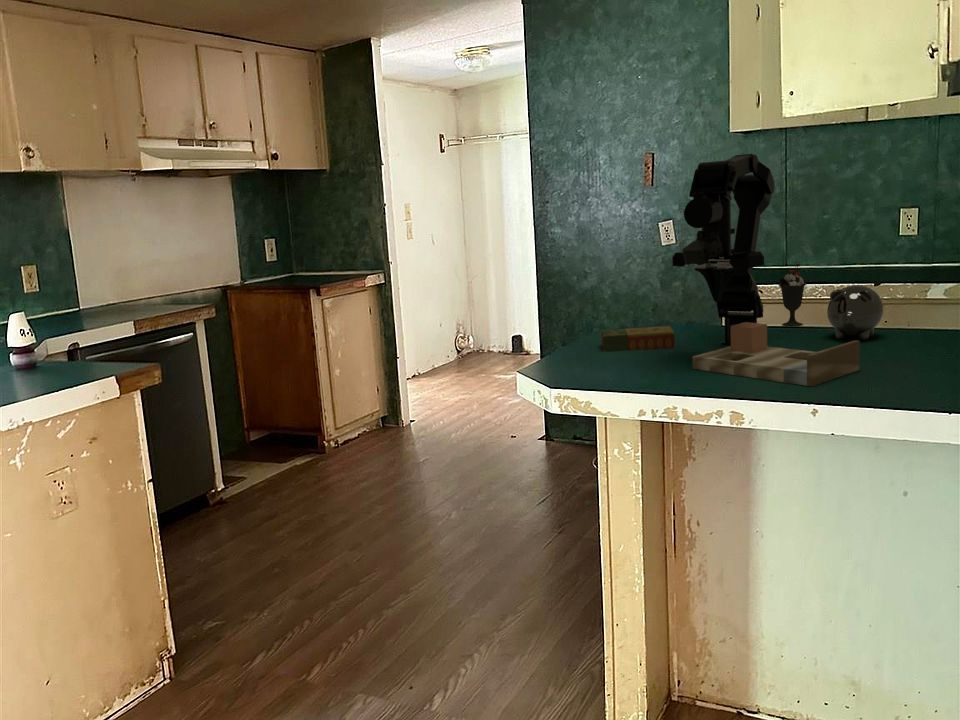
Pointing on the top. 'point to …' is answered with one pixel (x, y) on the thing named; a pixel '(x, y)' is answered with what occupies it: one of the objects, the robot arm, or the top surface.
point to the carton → (638, 338)
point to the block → (749, 337)
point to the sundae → (792, 295)
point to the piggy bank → (854, 311)
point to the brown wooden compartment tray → (784, 363)
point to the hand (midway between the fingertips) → (717, 301)
